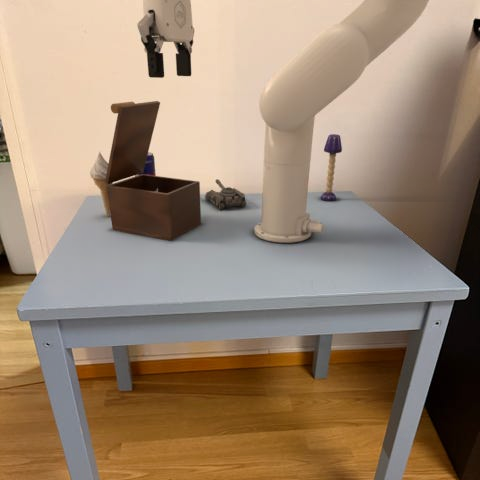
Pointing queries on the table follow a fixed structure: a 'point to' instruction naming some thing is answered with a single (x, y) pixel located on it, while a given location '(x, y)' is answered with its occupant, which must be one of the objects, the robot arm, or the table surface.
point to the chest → (155, 206)
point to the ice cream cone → (101, 179)
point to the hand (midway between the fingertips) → (170, 76)
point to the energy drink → (149, 165)
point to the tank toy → (225, 197)
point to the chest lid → (131, 139)
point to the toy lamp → (331, 164)
